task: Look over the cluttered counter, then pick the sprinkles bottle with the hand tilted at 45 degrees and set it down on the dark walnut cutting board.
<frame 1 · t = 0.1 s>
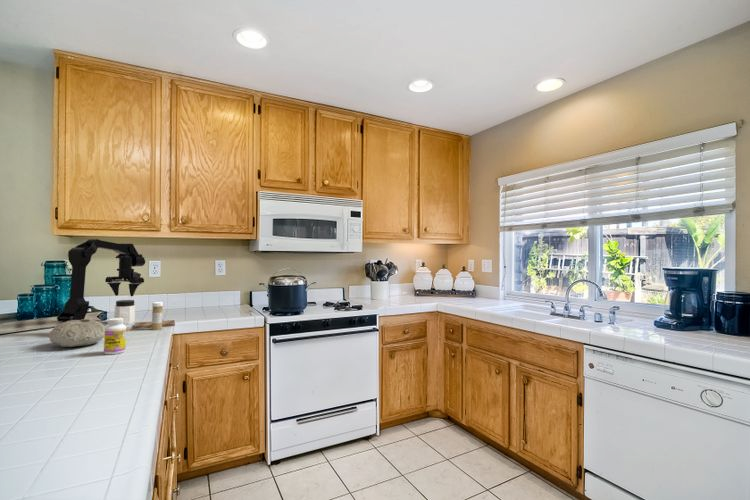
hand: (124, 296, 190), 15 cm above the countertop, tool pointing down, fingers open, 9 cm apart
jar: (124, 323, 190), on the countertop
coaster: (118, 331, 172), on the countertop
sprinkles bottle: (156, 329, 177), on the countertop
grey rock: (78, 345, 145), on the countertop
supplement bottle: (114, 353, 135), on the countertop
board: (154, 325, 186), on the countertop
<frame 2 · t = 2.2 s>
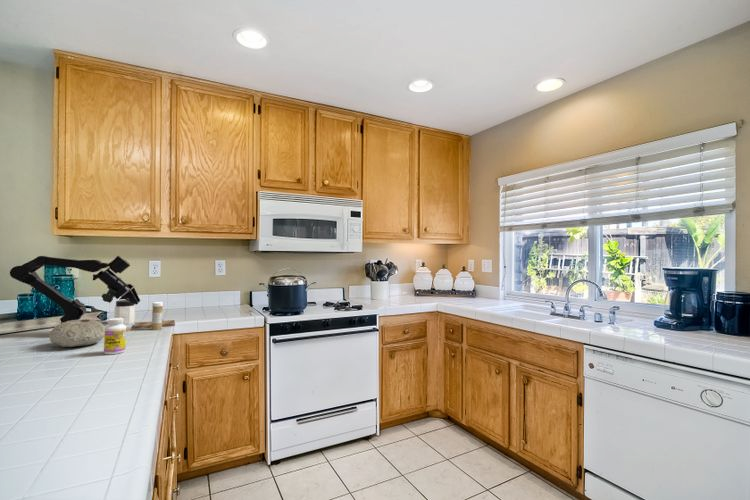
hand: (138, 302, 174), 13 cm above the countertop, tool tilted 45°, fingers open, 9 cm apart
nothing on the countertop moved.
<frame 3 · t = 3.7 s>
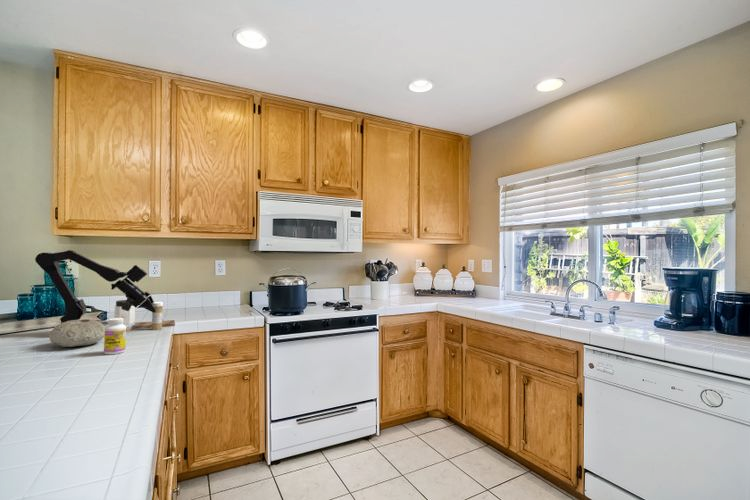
hand: (155, 310, 177), 9 cm above the countertop, tool tilted 45°, fingers open, 9 cm apart
nothing on the countertop moved.
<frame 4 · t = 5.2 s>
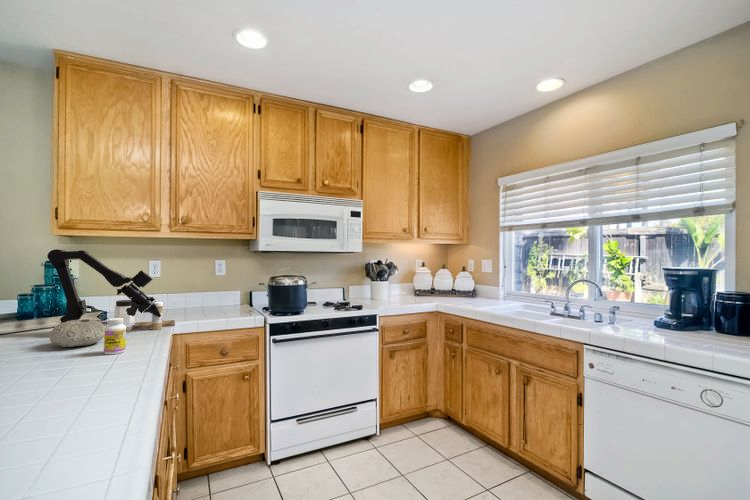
hand: (160, 315, 178), 7 cm above the countertop, tool tilted 45°, fingers closed on sprinkles bottle, 4 cm apart
sprinkles bottle: (156, 329, 177), on the countertop, touching gripper
everything else where it was.
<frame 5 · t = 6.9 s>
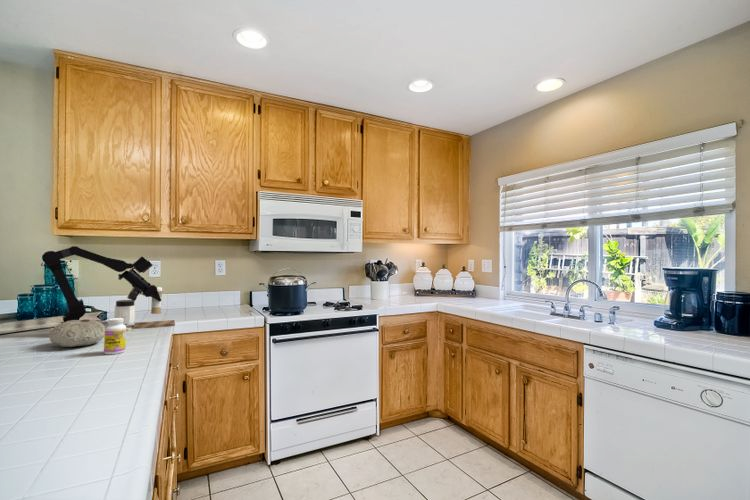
hand: (159, 300, 186), 13 cm above the countertop, tool tilted 45°, fingers closed on sprinkles bottle, 4 cm apart
sprinkles bottle: (156, 313, 184), point 6 cm above the countertop, touching gripper
everything else where it was.
when the fingers open (8 cm above the countertop, at t = 8.6 s): sprinkles bottle stays where it is, resting on board.
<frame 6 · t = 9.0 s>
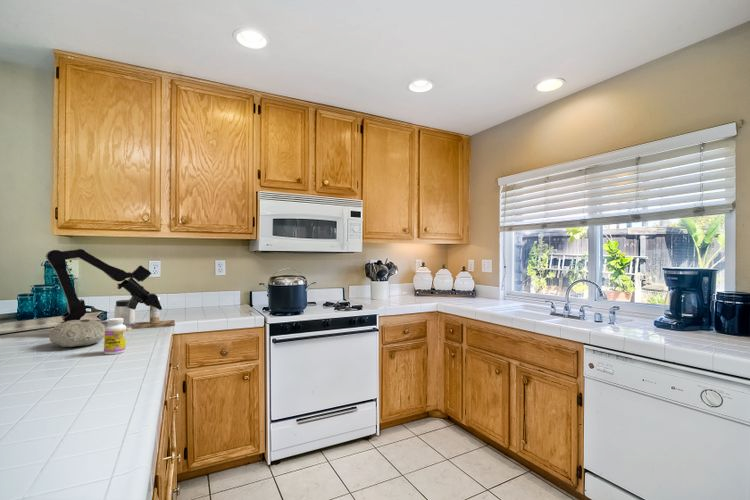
hand: (158, 308, 188), 9 cm above the countertop, tool tilted 45°, fingers open, 9 cm apart
sprinkles bottle: (154, 323, 186), point 1 cm above the countertop, touching board
everything else where it was.
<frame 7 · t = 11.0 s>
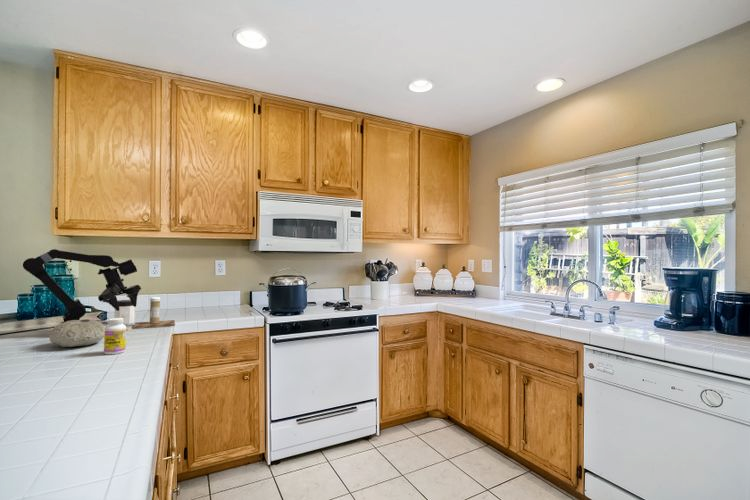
hand: (126, 308, 176), 10 cm above the countertop, tool tilted 20°, fingers open, 9 cm apart
nothing on the countertop moved.
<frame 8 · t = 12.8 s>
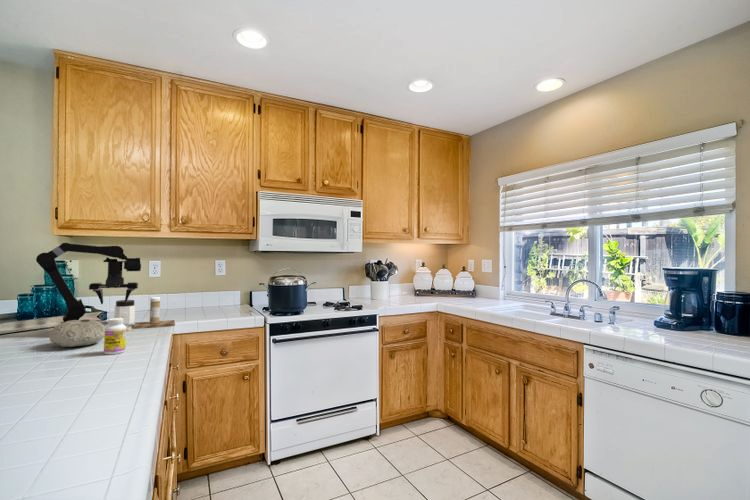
hand: (113, 303, 172), 13 cm above the countertop, tool pointing down, fingers open, 9 cm apart
nothing on the countertop moved.
at the end: sprinkles bottle 0.2 cm from the board (horizontally); sprinkles bottle tilted 0°; sprinkles bottle touching board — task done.
